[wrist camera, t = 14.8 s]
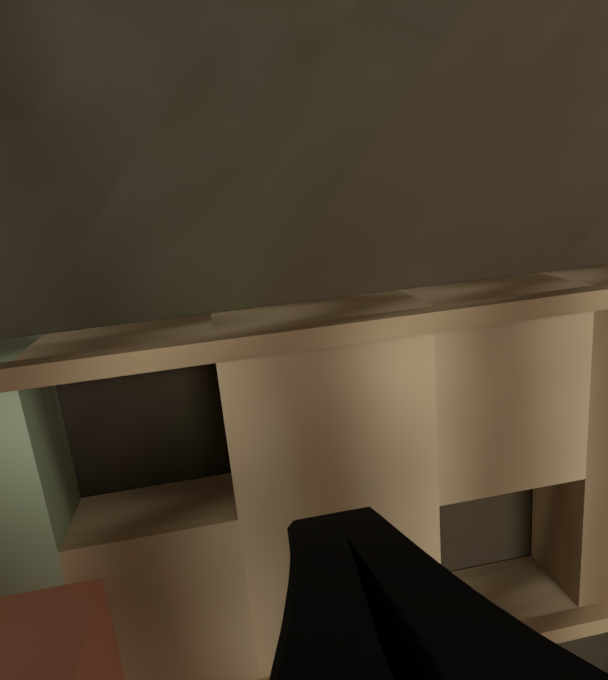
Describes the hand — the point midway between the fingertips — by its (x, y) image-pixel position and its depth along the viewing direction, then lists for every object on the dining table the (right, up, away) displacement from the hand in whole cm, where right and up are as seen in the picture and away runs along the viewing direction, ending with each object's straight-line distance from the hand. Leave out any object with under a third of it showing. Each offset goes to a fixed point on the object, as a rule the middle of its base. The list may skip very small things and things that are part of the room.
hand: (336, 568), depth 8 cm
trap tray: (0, -1, +11) cm, 11 cm away
